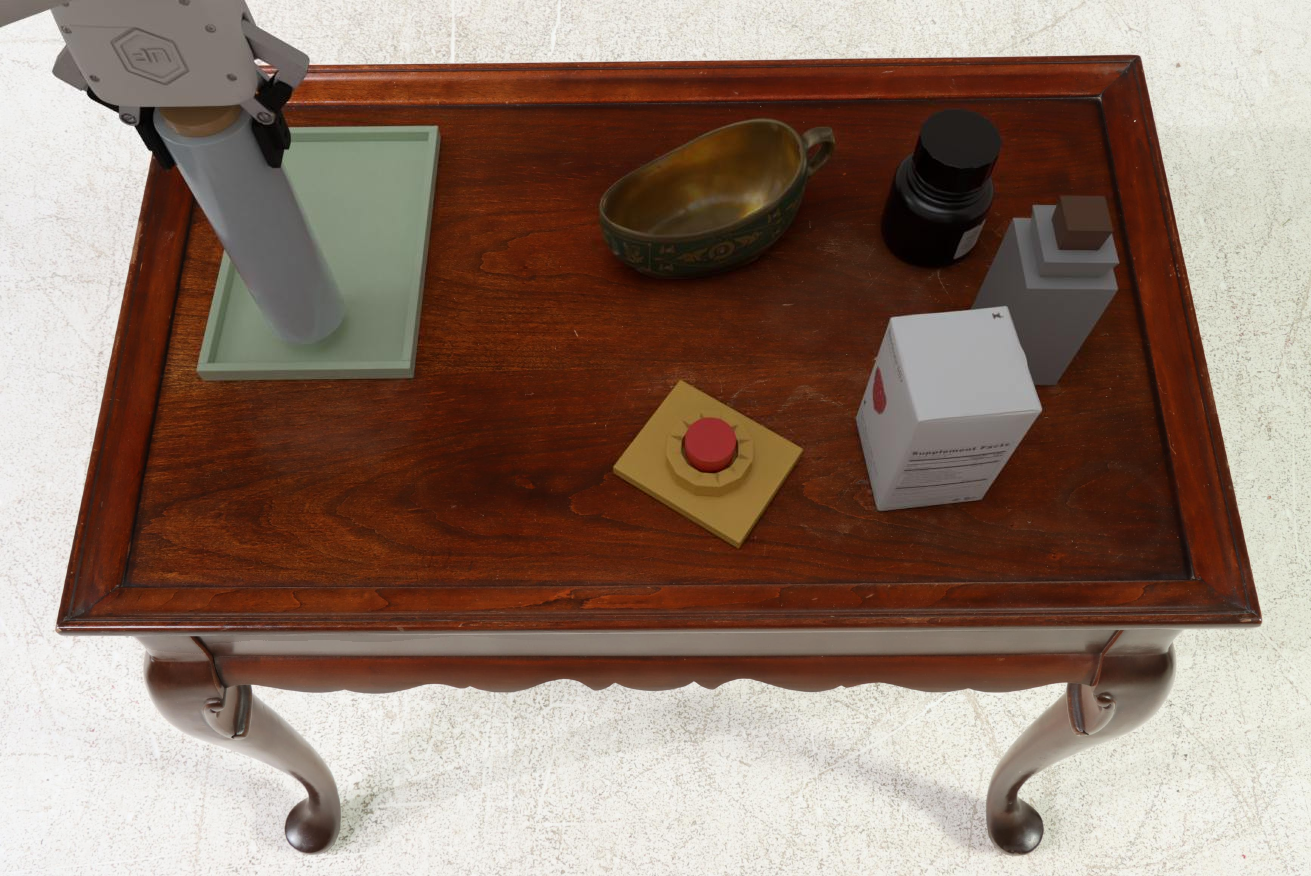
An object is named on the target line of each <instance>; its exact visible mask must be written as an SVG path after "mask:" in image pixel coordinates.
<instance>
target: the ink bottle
mask: <svg viewBox="0 0 1311 876" xmlns="http://www.w3.org/2000/svg"><path fill="white" fill-rule="evenodd" d="M1002 146H1003V140H1002V137H1001V133H1000V130H999V128H997V127H996V125H994V123H993V122H992V120H990V119H989V118H987V117H985V116H983V115H981V114H980V113H979V112H976V111H973V110H968V109H964V108H946V109H942V110H940V111H938V112H935V113H931V115H930V116H929V117H928V118H927V119H925V120H924V121H923V122H922V123H921V128H920V131H919V134H918V138H917V141H916V144H915V146H914V147H915V148H914V151H913V152H910V154H908V155H907V156H905V158H904V159H902V160H901V161H900V163H898V166H897V167H896V169H895V171H894V174H893V177H892V180H891V184H890V187H889V191H888V195H887V197H886V201H885V203H884V204H885V205H884V208H883V211H882V215H881V219H880V220H881V222H880V225H881V226H880V228H881V233H882V237H883V238H884V239H883V240H884V241H885V243H886V245H887V246H888V247H889V249H890V251H892V252H893V254H895V255H896V256H898V257H899V258H901V259H903V260H905V261H906V262H908V263H911V264H914V265H919V266H923V267H945V266H949V265H953V264H956V263H958V262H960V261H962V260H963V259H965V258H966V257H967V256H968V255H969V254H970V253H971V252H972V250H973V248H974V247H975V245H976V243H977V241H978V239H979V236H980V233H981V232H982V229H983V227H984V225H985V223H986V220H987V218H988V216H989V212H990V210H991V208H992V205H993V203H994V197H995V185H994V181H993V178H992V173H993V171H994V169H995V166H996V164H997V161H998V159H999V157H1000V155H1001V149H1002Z"/></svg>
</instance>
